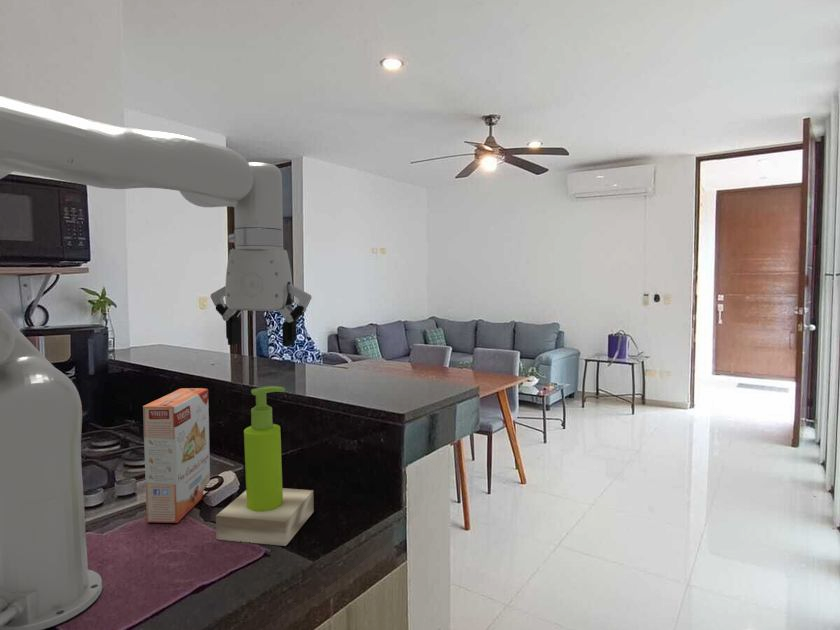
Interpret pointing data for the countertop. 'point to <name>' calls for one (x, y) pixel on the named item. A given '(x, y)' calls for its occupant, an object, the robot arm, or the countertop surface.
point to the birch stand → (265, 519)
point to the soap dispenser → (263, 455)
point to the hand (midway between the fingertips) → (261, 344)
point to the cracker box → (176, 453)
